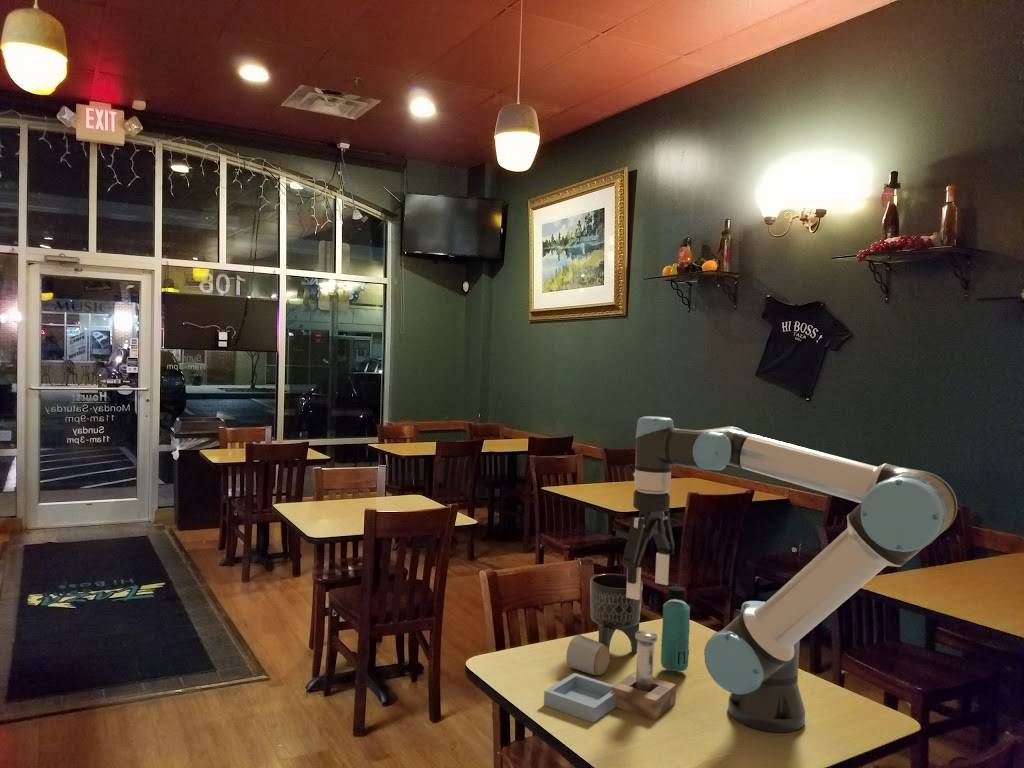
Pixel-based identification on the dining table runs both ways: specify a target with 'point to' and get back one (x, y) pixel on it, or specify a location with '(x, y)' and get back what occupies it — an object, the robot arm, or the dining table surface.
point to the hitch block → (644, 697)
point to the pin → (645, 659)
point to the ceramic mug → (587, 655)
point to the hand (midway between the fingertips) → (647, 590)
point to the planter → (614, 608)
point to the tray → (581, 697)
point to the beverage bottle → (675, 631)
